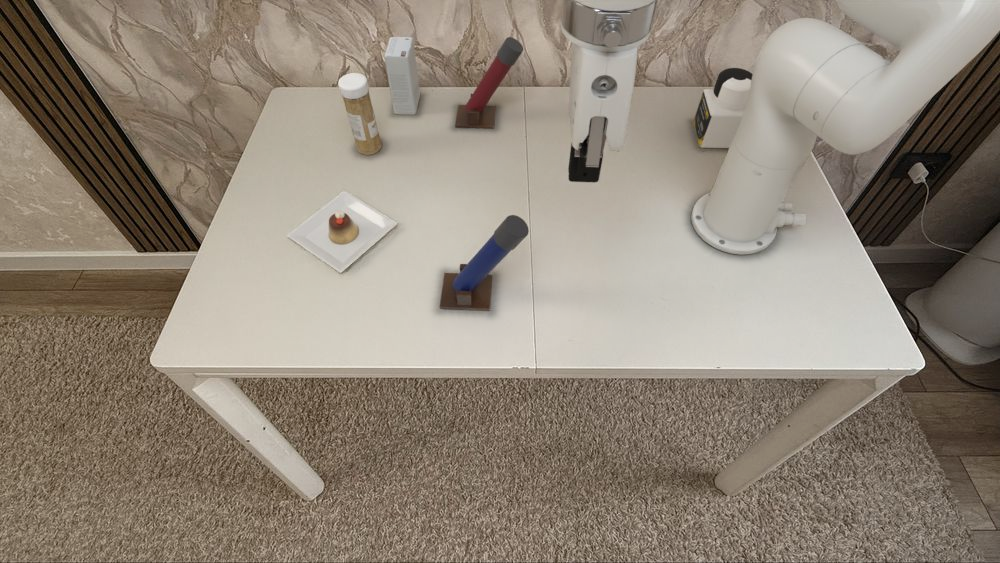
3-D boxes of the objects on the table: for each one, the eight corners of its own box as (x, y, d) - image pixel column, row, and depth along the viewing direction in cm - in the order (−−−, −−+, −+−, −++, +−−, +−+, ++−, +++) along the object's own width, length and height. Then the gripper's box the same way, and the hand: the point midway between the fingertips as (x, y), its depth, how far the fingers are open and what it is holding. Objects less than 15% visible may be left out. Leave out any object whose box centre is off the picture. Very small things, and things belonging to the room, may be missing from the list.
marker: (474, 280, 80) (529, 220, 69) (471, 299, 78) (528, 241, 67) (453, 272, 78) (506, 210, 68) (450, 291, 77) (504, 231, 66)
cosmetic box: (398, 95, 106) (387, 35, 97) (422, 95, 106) (413, 35, 96) (393, 115, 103) (381, 55, 93) (417, 116, 103) (408, 56, 93)
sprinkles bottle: (386, 149, 97) (371, 82, 86) (363, 159, 96) (344, 92, 85) (375, 135, 100) (359, 68, 89) (352, 145, 98) (332, 77, 87)
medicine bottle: (692, 122, 101) (712, 62, 91) (732, 122, 101) (756, 62, 91) (699, 148, 97) (720, 88, 87) (740, 149, 96) (767, 89, 87)
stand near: (492, 276, 81) (492, 263, 78) (489, 311, 78) (489, 298, 75) (444, 274, 81) (442, 261, 79) (439, 309, 78) (437, 296, 75)
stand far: (495, 107, 104) (495, 93, 101) (493, 128, 100) (493, 114, 98) (458, 106, 104) (457, 92, 102) (455, 127, 101) (453, 113, 98)
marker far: (481, 108, 103) (523, 43, 92) (479, 119, 101) (523, 55, 90) (465, 100, 101) (506, 33, 90) (463, 111, 99) (505, 45, 89)
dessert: (342, 277, 81) (334, 257, 77) (288, 239, 86) (277, 218, 82) (399, 227, 87) (394, 206, 83) (345, 194, 91) (338, 173, 87)
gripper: (665, 65, 41) (622, 230, 56) (645, -34, 49) (613, 132, 64) (562, 62, 41) (547, 227, 56) (561, -35, 50) (548, 130, 65)
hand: (583, 176), depth 60 cm, fingers closed
